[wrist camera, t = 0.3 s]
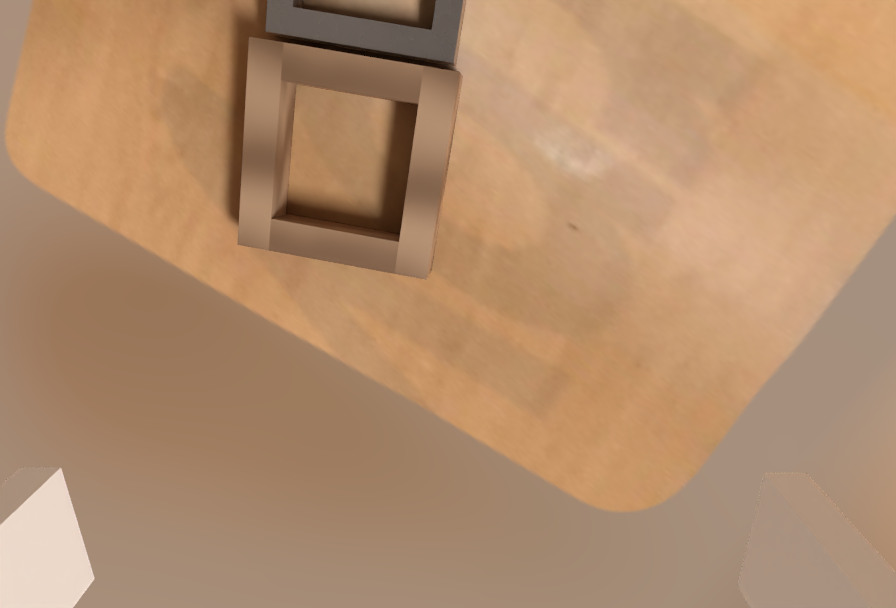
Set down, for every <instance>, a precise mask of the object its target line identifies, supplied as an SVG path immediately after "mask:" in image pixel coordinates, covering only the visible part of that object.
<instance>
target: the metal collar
mask: <svg viewBox="0 0 896 608" xmlns="http://www.w3.org/2000/svg"><path fill="white" fill-rule="evenodd" d="M465 4H466V0H436V3H435V10H434V17H433V24H432V30H429V29H423V28H417V27H411V26H405V25H399V24H393V23H387V22H381V21H375V20H369V19H363V18H357V17H350V16H344V15H338V14H332V13H326V12H320V11H314V10H308V9H302V6H303V0H267V14H266V30H265V31H266V32H268V33H270V34H272V35H275V36H279V37H285V38H291V39H297V40H303V41H309V42H315V43H321V44H327V45H333V46H339V47H344V48H350V49H356V50H362V51H368V52H374V53H380V54H386V55H392V56H398V57H404V58H410V59H416V60H422V61H428V62H434V63H440V64H446V65H452V66H456V61H457V55H458V48H459V42H460V36H461V29H462V23H463V16H464V10H465Z"/></svg>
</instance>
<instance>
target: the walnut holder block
mask: <svg viewBox="0 0 896 608" xmlns="http://www.w3.org/2000/svg"><path fill="white" fill-rule="evenodd" d="M462 77H463V76H462V75H461V73H460V72H457V71H451V70H445V69H439V68H433V67H427V66H421V65H416V64H410V63H404V62H398V61H392V60H386V59H380V58H374V57H368V56H362V55H356V54H350V53H344V52H338V51H333V50H327V49H321V48H315V47H309V46H303V45H297V44H291V43H285V42H279V41H273V40H267V39H261V38H255V37H249V45H248V63H247V82H246V100H245V119H244V137H243V156H242V174H241V192H240V211H239V229H238V245H242V246H248V247H253V248H258V249H264V250H269V251H275V252H280V253H285V254H291V255H296V256H302V257H307V258H312V259H318V260H323V261H329V262H334V263H339V264H345V265H350V266H356V267H361V268H366V269H372V270H377V271H383V272H388V273H393V274H399V275H404V276H410V277H415V278H420V279H427V278H428V276H429V274H430V272H431V270H432V264H433V257H434V251H435V245H436V239H437V232H438V226H439V220H440V214H441V208H442V201H443V195H444V189H445V183H446V177H447V170H448V164H449V158H450V152H451V145H452V139H453V133H454V127H455V121H456V114H457V108H458V102H459V96H460V89H461V83H462ZM296 84H299V85H304V86H310V87H316V88H322V89H328V90H334V91H339V92H345V93H351V94H357V95H363V96H369V97H374V98H380V99H386V100H392V101H398V102H403V103H409V104H415V105H418V111H417V118H416V125H415V132H414V139H413V147H412V154H411V161H410V168H409V175H408V182H407V189H406V196H405V203H404V210H403V217H402V225H401V232H400V234H396V233H391V232H385V231H380V230H374V229H369V228H363V227H358V226H352V225H347V224H341V223H336V222H331V221H325V220H320V219H314V218H309V217H303V216H298V215H292V214H287V213H286V208H287V195H288V183H289V170H290V157H291V145H292V132H293V120H294V107H295V94H296Z"/></svg>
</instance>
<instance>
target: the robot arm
mask: <svg viewBox="0 0 896 608" xmlns="http://www.w3.org/2000/svg"><path fill="white" fill-rule="evenodd" d="M93 580H94V575H93V572H92V569H91V565H90V562H89V559H88V555H87V553H86V549H85V546H84V542H83V539H82V536H81V532H80V529H79V526H78V523H77V519H76V516H75V513H74V509H73V506H72V503H71V499H70V496H69V493H68V490H67V486H66V483H65V480H64V476H63V473H62V470H61V468H39V467H34V468H33V467H30V468H29V467H21V468H20V469H19V470H17V471H16V472H15V473H14V474H13V475H12V476H11V477H9V478H8V479H7V480H6V481H5V482H3V483H2V484H1V485H0V608H73V607H74V606H75V604H76V603H77V601H78V600H79V599H80V597H81V596H82V595H83V593H84V592H85V591H86V589H87V588H88V587H89V585H90V584H91V583H92V581H93ZM738 587H739V589H740V591H741V593H742V594H743V596H744V598H745V600H746V602H747V604H748V605H749V607H750V608H896V572H895V571H894V570H893V569H892V567H891V566H890V565H889V564H888V563H887V562H886V561H885V560H884V558H882V556H881V555H880V554H879V553H878V552H877V551H876V550H875V548H874V547H872V545H871V544H870V543H869V542H868V541H867V540H866V539H865V537H864V536H863V535H862V534H861V533H860V532H859V531H858V530H857V529H856V528H855V526H854V525H853V524H852V523H851V522H850V521H849V520H848V519H847V517H846V516H845V515H844V514H843V513H842V512H841V511H840V510H839V509H838V508H837V506H836V505H835V504H834V503H833V502H832V501H831V500H830V499H829V498H828V496H826V494H825V493H824V492H823V491H822V490H821V489H820V488H819V486H818V485H817V484H816V483H815V482H814V481H813V480H812V479H811V478H810V476H809V475H808V474H807V473H764V476H763V480H762V484H761V489H760V493H759V497H758V501H757V506H756V510H755V514H754V518H753V523H752V527H751V531H750V536H749V540H748V544H747V549H746V553H745V557H744V561H743V566H742V570H741V574H740V579H739V583H738Z"/></svg>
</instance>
